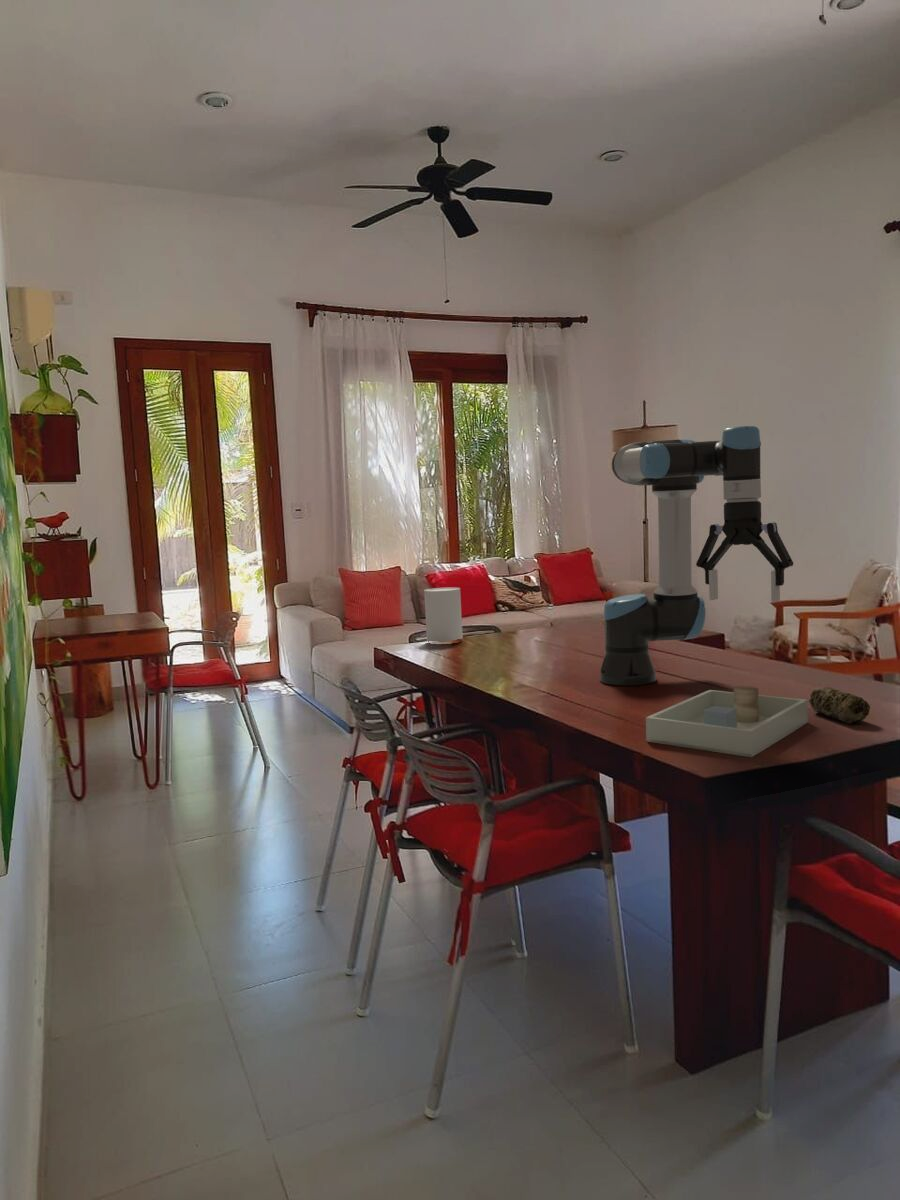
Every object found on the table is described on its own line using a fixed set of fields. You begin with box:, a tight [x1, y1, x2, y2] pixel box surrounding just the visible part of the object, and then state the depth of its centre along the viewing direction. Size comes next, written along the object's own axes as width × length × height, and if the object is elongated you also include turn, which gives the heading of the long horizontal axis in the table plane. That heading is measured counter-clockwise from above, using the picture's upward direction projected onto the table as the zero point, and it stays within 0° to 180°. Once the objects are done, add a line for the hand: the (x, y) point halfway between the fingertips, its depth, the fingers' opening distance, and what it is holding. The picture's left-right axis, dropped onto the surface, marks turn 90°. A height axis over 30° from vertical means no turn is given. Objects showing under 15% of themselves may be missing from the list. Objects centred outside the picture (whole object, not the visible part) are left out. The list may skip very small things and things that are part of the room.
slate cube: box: [703, 706, 737, 728], centre depth 178 cm, size 5×5×5 cm
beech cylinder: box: [733, 685, 759, 723], centre depth 187 cm, size 5×5×7 cm
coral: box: [808, 686, 871, 725], centre depth 187 cm, size 14×6×6 cm, turn 11°
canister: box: [423, 587, 463, 642], centre depth 325 cm, size 14×14×20 cm
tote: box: [645, 689, 809, 758], centre depth 181 cm, size 22×30×5 cm
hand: (743, 600), depth 185 cm, fingers open, 13 cm apart
